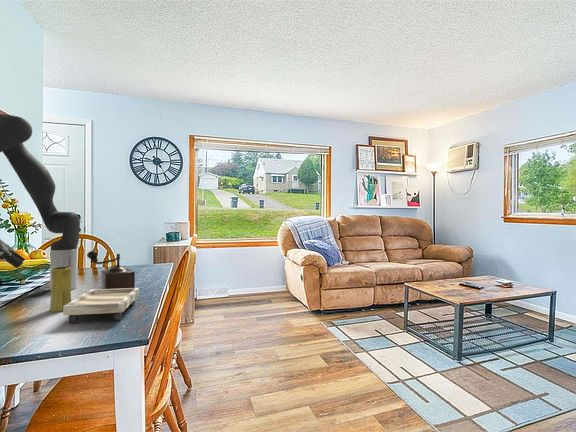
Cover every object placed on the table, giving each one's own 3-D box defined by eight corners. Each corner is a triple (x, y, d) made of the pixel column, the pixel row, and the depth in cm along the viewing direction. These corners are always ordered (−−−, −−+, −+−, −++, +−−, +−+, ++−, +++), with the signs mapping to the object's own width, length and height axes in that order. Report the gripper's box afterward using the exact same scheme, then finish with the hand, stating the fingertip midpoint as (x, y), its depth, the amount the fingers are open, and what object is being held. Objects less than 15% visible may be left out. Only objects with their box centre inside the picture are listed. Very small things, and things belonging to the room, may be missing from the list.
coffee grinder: (127, 288, 133) (127, 248, 133) (135, 293, 125) (136, 250, 125) (85, 294, 122) (86, 250, 122) (91, 300, 114) (92, 253, 114)
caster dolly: (90, 305, 109) (90, 289, 109) (138, 303, 113) (138, 287, 112) (63, 325, 89) (63, 306, 89) (122, 322, 93) (122, 303, 93)
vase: (59, 312, 100) (60, 269, 100) (44, 311, 102) (45, 268, 102) (76, 307, 106) (76, 266, 106) (61, 305, 108) (62, 265, 108)
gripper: (-21, 220, 86) (31, 257, 94) (-13, 219, 98) (33, 252, 105) (-49, 239, 83) (7, 276, 90) (-37, 236, 94) (12, 269, 102)
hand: (21, 263), depth 98 cm, fingers open, 8 cm apart
